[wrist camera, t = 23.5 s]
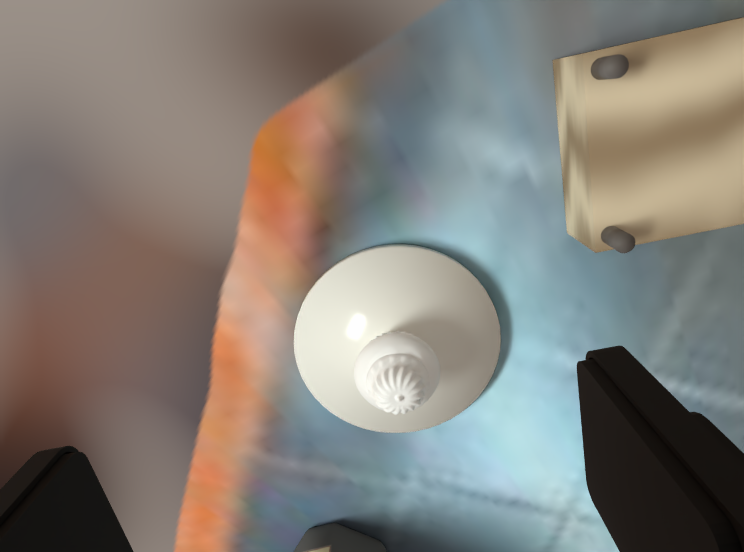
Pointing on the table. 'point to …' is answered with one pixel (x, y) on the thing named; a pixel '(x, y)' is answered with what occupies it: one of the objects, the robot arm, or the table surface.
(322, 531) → the liquor
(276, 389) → the table surface
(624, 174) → the pegged square board
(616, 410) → the robot arm
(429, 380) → the white rounded piece
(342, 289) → the white plate
